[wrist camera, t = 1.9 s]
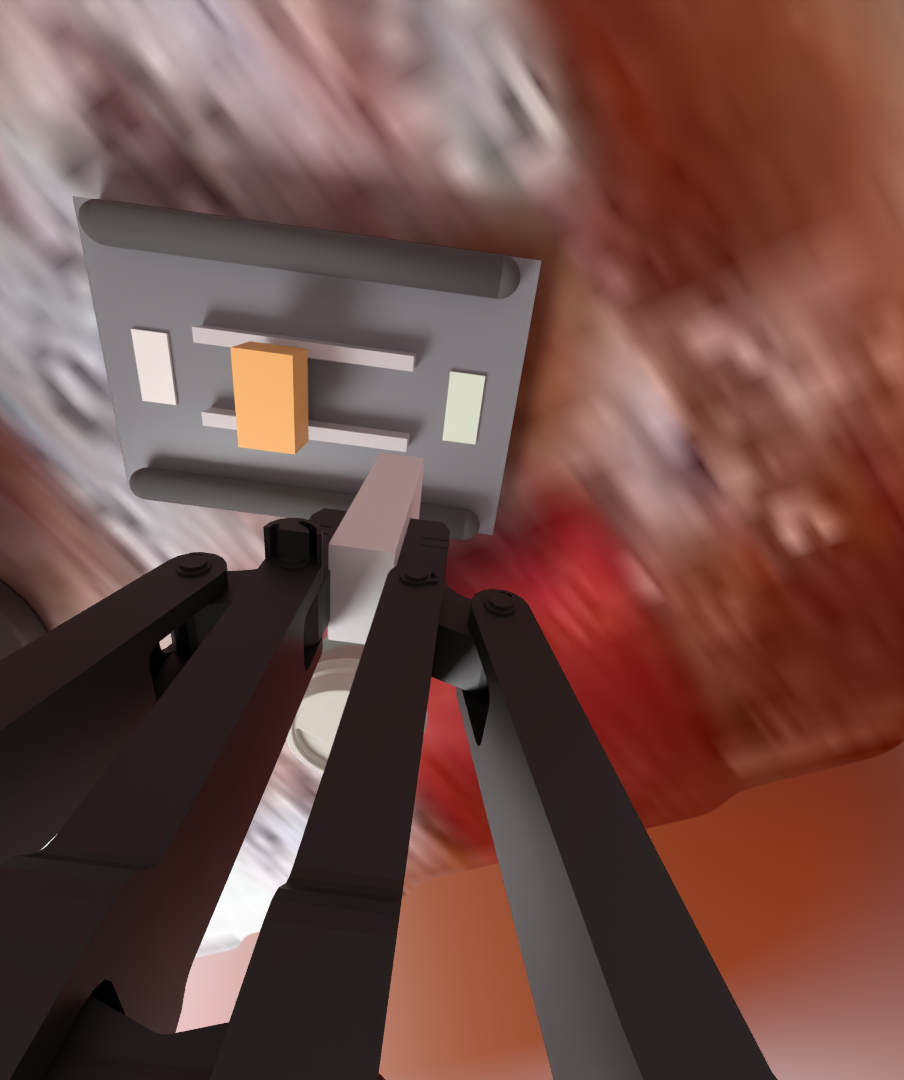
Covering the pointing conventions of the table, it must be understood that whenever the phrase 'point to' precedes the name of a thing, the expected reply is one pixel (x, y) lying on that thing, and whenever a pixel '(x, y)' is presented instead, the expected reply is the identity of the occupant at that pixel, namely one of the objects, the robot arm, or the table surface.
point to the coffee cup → (325, 703)
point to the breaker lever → (271, 396)
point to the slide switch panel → (312, 371)
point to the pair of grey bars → (297, 254)
